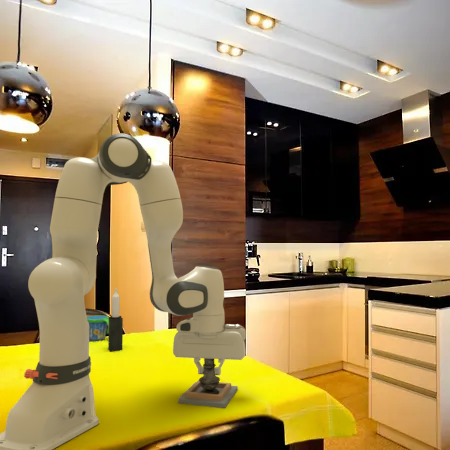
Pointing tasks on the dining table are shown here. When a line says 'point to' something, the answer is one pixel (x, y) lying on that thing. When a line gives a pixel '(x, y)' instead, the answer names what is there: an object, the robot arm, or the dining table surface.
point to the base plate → (209, 395)
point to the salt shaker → (209, 378)
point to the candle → (115, 326)
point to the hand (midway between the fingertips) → (209, 374)
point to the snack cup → (98, 327)
